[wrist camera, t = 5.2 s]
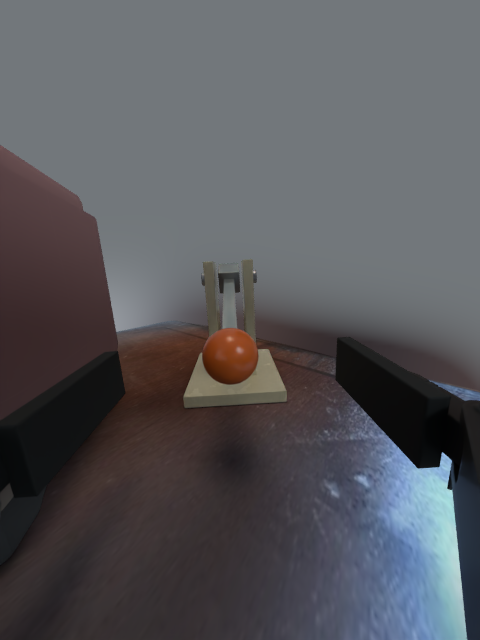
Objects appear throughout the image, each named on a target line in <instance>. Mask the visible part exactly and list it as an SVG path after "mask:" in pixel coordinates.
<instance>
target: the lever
mask: <svg viewBox="0 0 480 640" xmlns="http://www.w3.org/2000/svg"><path fill="white" fill-rule="evenodd" d="M218 278H219V288H220V293H223V317H222V329H221V330H218V331H217V332H215V333H213V334H212V335H211V336H210V337H209V338H208V340H207V341H206V343H205V345H204V348H203V352H202V361H203V365H204V368H205V370H206V372H207V373H208V374H209V376H210V377H211V378H213V379H214V380H215V381H217V382H219V383H222V384H227V385H234V384H238V383H241V382H243V381H245V380H246V379H248V378H249V377H250V376H251V375H252V374H253V372H254V371H255V369H256V367H257V363H258V357H259V356H258V349H257V346H256V343H255V341H254V340H253V339H252V337H251V336H250V335H249V334H247V333H246V332H244V331H243V330H240V329H237V316H236V300H235V293H237V292H240V281H239V267H238V263H230V264H219V269H218Z"/></svg>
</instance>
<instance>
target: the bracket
mask: <svg viewBox="0 0 480 640" xmlns="http://www.w3.org/2000/svg"><path fill="white" fill-rule="evenodd" d="M203 268H204V273H202V274H201V279H202V285H203V286H205V292H206V303H207V316H208V328H209V337H210V336H211V335H212V334H213V333H215V332H217V331H218V330H221V327H220V313H219V301H218V300H219V299H218V285H217V271H216V263H215V262H203ZM241 268H242V288H243V308H244V330H245V332H246V333H247V334H249V335H250V336H251V337H252V339H253V340H254V341H255V343H256V338H255V312H254V288H253V287H254V286H253V283H256V282H257V275H256V270H253V260H252V259H250V260H242V261H241ZM258 356H259V357H258V363H257V367H256V369H255V371H254V372H253V374H252V375H251V376H250V377H249V378H248V379H246V380H245V381H243V382H241V383H238V384H234V385H227V384H222V383H219V382H217V381H215V380H214V379H213V378H211V377H210V376H209V374H208V373H207V372H206V370H205V368H204V365H203V361H202V353H200V355H199V358H198V360H197V363H196V366H195V368H194V371H193V373H192V376H191V379H190V381H189V384H188V386H187V389H186V392H185V394H184V397H183V400H184V408H195V407H210V406H226V405H242V404H258V403H274V402H286V401H287V391H286V389H285V386H284V384H283V382H282V380H281V377H280V375H279V373H278V370H277V368H276V366H275V364H274V361H273V359H272V357H271V354H270V352H269V350H268V349H259V350H258Z"/></svg>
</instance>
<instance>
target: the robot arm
mask: <svg viewBox="0 0 480 640" xmlns="http://www.w3.org/2000/svg"><path fill="white" fill-rule="evenodd" d="M336 381H337V382H338V383H339V384H340V385H341V386H342V387H343V388H344V389H345V390H346V392H347V393H348V394H349V395H350V396H351V397H352V398H353V399H354V400H355V401H356V402H357V403H358V404H359V406H360V407H361V408H362V409H363V410H364V411H365V412H366V413H367V414H368V415H369V416H370V417H371V418H372V420H373V421H374V422H375V423H376V424H377V425H378V426H379V427H380V428H381V429H382V430H383V431H384V432H385V433H386V435H387V436H388V437H389V438H390V439H391V440H392V441H393V442H394V443H395V444H396V445H397V446H398V447H399V449H400V450H401V451H402V452H403V453H404V454H405V455H406V456H407V457H408V458H409V459H410V460H411V461H412V463H413V464H414V465H415V466H416V467H417V468H431V467H439V466H440V460H441V454H442V452H443V453H444V454H446V455H447V456H448V457H449V458H450V459H451V460H452V464H451V470H450V476H449V481H448V487H447V489H450V490H453V500H454V510H455V520H456V531H457V541H458V551H459V561H460V571H461V581H462V591H463V601H464V611H465V622H466V632H467V640H480V401H477V400H468V401H464V400H462V399H461V398H459V397H457V396H455V395H454V394H452V393H450V392H448V391H446V390H445V389H443V388H441V387H438V385H436V384H434V383H432V382H430V381H429V380H427V379H425V378H424V377H422V376H420V375H418V374H415V373H412V372H409V371H407V370H405V369H404V368H402V367H400V366H398V365H397V364H395V363H393V362H392V361H390V360H388V359H387V358H385V357H383V356H381V355H380V354H378V353H376V352H375V351H373V350H371V349H369V348H368V347H366V346H364V345H362V344H361V343H359V342H357V341H356V340H354V339H352V338H350V337H343V338H337V357H336ZM124 394H125V389H124V383H123V377H122V372H121V366H120V360H119V355H118V351H111V352H104V353H102V354H101V355H99V356H98V357H96V358H95V359H93V360H92V361H90V362H89V363H87V364H86V365H84V366H82V367H81V368H79V369H78V370H76V371H75V372H73V373H72V374H70V375H69V376H67V377H66V378H64V379H63V380H61V381H60V382H58V383H57V384H55V385H54V386H52V387H51V388H49V389H47V390H46V391H44V392H43V393H41V394H40V395H38V396H37V397H35V398H34V399H32V400H31V401H29V402H28V403H26V404H25V405H23V406H22V407H20V408H19V409H17V410H15V411H14V412H12V413H11V414H9V415H8V416H6V417H5V418H3V419H2V420H0V492H1V491H2V490H3V489H4V488H5V487H6V486H7V485H8V484H9V483H10V486H11V490H12V493H13V496H14V498H21V497H35V496H38V495H39V494H40V493H41V491H42V490H43V489H44V488H45V487H46V486H47V484H48V483H49V482H50V481H51V480H52V479H53V477H54V476H55V475H56V474H57V473H58V472H59V470H60V469H61V468H62V467H63V466H64V465H65V463H66V462H67V461H68V460H69V459H70V457H71V456H72V455H73V454H74V453H75V452H76V450H77V449H78V448H79V447H80V446H81V445H82V443H83V442H84V441H85V440H86V439H87V438H88V436H89V435H90V434H91V433H92V432H93V431H94V429H95V428H96V427H97V426H98V425H99V423H100V422H101V421H102V420H103V419H104V418H105V416H106V415H107V414H108V413H109V412H110V411H111V409H112V408H113V407H114V406H115V405H116V404H117V402H118V401H119V400H120V399H121V398H122V397H123V395H124ZM1 504H2V503H1V500H0V513H1Z"/></svg>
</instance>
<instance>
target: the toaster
mask: <svg viewBox="0 0 480 640" xmlns="http://www.w3.org/2000/svg"><path fill="white" fill-rule="evenodd" d="M117 349H118V341H117V335H116V329H115V324H114V318H113V312H112V307H111V301H110V295H109V290H108V284H107V278H106V273H105V267H104V262H103V255H102V250H101V244H100V239H99V233H98V227H97V222H96V219H95V218H94V217H93V216H91V215H90V214H88V213H86V212H84V211H83V206H82V203H81V201H80V199H79V197H78V196H77V195H75V194H74V193H72V192H71V191H69V190H68V189H66V188H65V187H63V186H62V185H60V184H58V183H57V182H56V181H54V180H52V179H51V178H49V177H48V176H46V175H45V174H43V173H42V172H40V171H39V170H37V169H36V168H34V167H33V166H31V165H30V164H28V163H27V162H25V161H24V160H22V159H21V158H19V157H17V156H16V155H15V154H13V153H11V152H10V151H8V150H7V149H6V148H4V147H3V146H1V145H0V420H2V419H3V418H5V417H6V416H8V415H9V414H11V413H12V412H14V411H15V410H17V409H19V408H20V407H22V406H23V405H25V404H26V403H28V402H29V401H31V400H32V399H34V398H35V397H37V396H38V395H40V394H41V393H43V392H44V391H46V390H47V389H49V388H51V387H52V386H54V385H55V384H57V383H58V382H60V381H61V380H63V379H64V378H66V377H67V376H69V375H70V374H72V373H73V372H75V371H76V370H78V369H79V368H81V367H82V366H84V365H86V364H87V363H89V362H90V361H92V360H93V359H95V358H96V357H98V356H99V355H101V354H102V353H104V352H111V351H117ZM45 489H46V487H45V488H44V489H43V490H42V491H41V493H40V494H39V495H38V496H35V497H21V498H14V496H13V493H12V490H11V486H10V483H9V484H8V485H7V486H6V487H5V488H4V489H3V490H2V491H1V492H0V500H1V503H2V504H1V513H0V565H1V564H2V563H4V562H5V561H6V560H7V559H9V558H10V557H11V555H12V554H13V553H14V551H15V550H16V548H17V547H18V545H19V543H20V542H21V540H22V539H23V537H24V535H25V534H26V532H27V531H28V529H29V527H30V526H31V524H32V523H33V521H34V519H35V518H36V516H37V514H38V513H39V511H40V507H41V504H42V500H43V496H44V492H45Z"/></svg>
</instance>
